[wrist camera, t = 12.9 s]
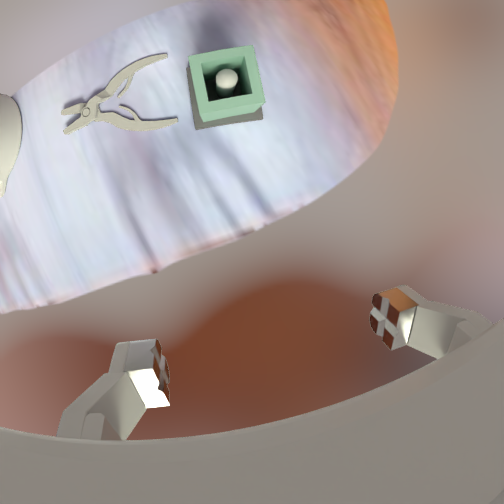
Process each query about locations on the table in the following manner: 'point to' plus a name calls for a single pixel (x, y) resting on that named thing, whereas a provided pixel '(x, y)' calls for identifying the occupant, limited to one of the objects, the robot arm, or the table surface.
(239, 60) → the sleeve
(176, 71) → the table surface
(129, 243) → the table surface
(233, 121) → the post stand
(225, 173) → the table surface
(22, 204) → the table surface
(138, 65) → the pliers
